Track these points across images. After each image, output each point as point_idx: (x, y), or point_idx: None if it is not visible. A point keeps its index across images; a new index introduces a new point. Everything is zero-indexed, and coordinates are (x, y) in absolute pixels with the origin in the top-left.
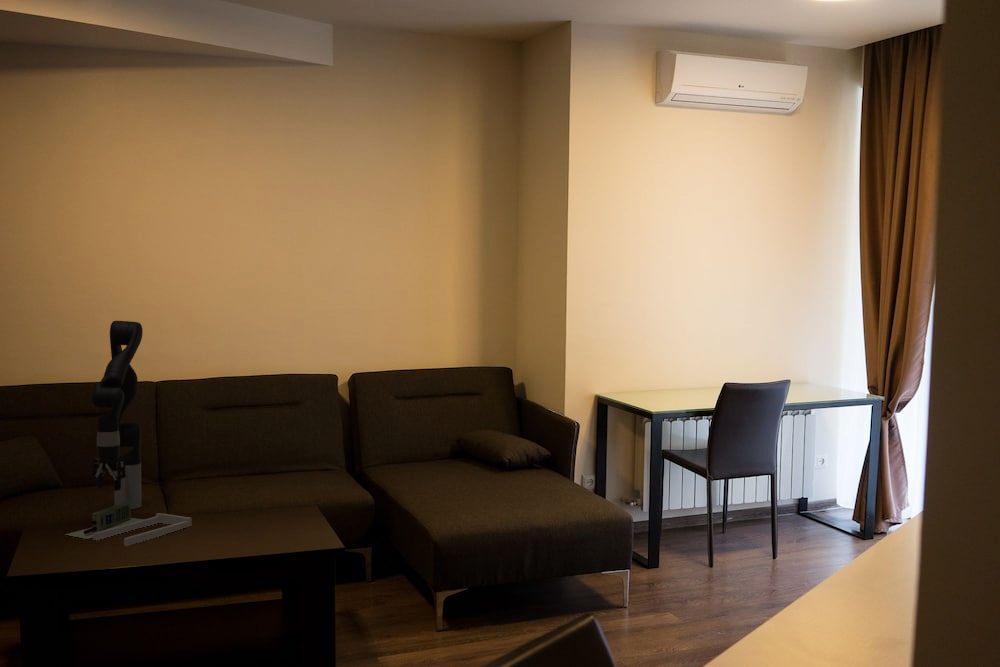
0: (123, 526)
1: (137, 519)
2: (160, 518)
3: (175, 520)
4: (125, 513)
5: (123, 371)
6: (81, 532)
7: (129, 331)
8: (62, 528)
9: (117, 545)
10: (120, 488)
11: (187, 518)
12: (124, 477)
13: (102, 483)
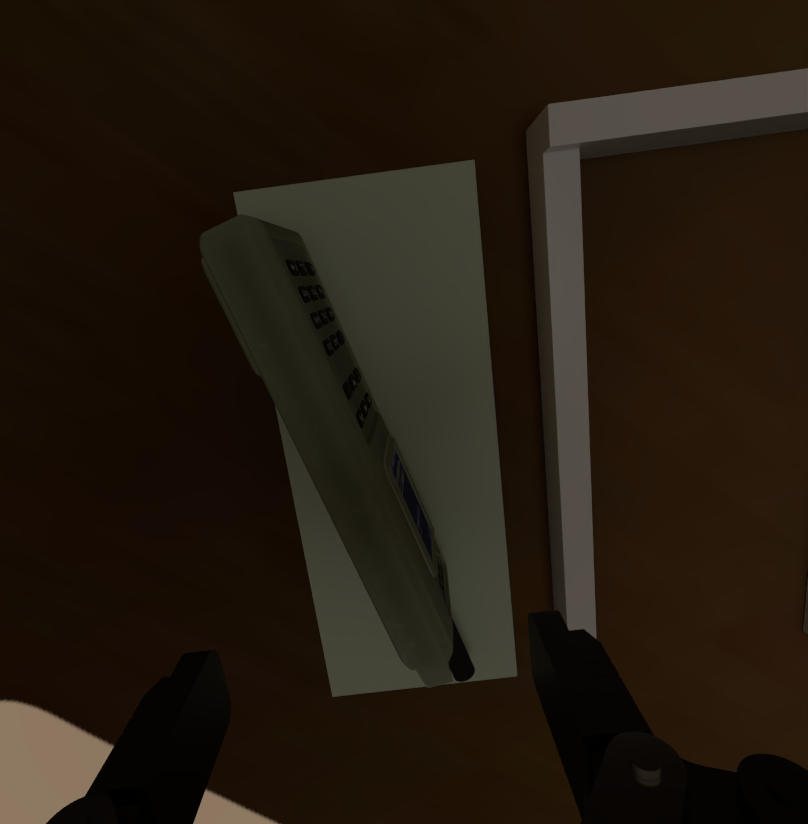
0: (590, 499)
1: (340, 201)
2: (595, 147)
3: (775, 123)
4: (318, 303)
5: None
6: (365, 626)
7: None
8: (145, 612)
9: (761, 643)
10: (583, 629)
11: None
12: (794, 782)
13: (200, 704)
